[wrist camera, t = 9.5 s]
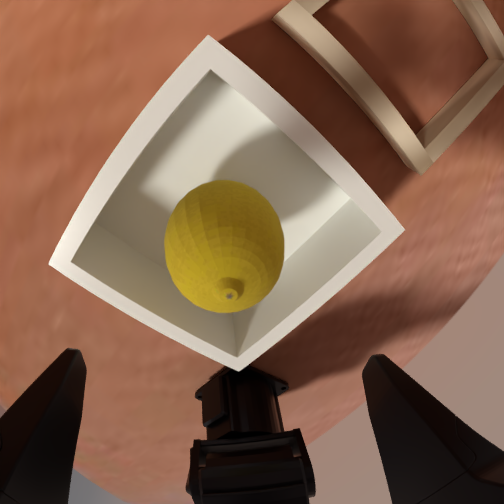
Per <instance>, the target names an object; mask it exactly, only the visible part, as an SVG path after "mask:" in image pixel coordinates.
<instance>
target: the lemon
mask: <svg viewBox="0 0 504 504" xmlns="http://www.w3.org/2000/svg"><path fill="white" fill-rule="evenodd" d="M164 247H165V259H166V264H167V267H168V270H169V273H170V275H171V278H172V281H173V283H174V284H175V286H176V287H177V288H178V290H179V291H180V292H181V294H182V295H183V296H184V297H186V298H187V299H188V300H189V301H191V302H192V303H193V304H194V305H196V306H199V307H201V308H203V309H205V310H209V311H213V312H217V313H232V312H239V311H242V310H245V309H247V308H250V307H252V306H254V305H255V304H257V303H259V302H260V301H262V300H263V299H264V298H265V297H266V296H267V295H268V294H269V293H270V292H271V290H272V289H273V287H274V286H275V284H276V283H277V281H278V279H279V277H280V274H281V270H282V267H283V263H284V233H283V230H282V227H281V223H280V220H279V217H278V215H277V213H276V212H275V210H274V209H273V207H272V206H271V204H270V203H269V201H268V200H267V199H266V198H265V197H264V196H262V195H261V194H260V193H259V192H258V191H257V190H256V189H254V188H252V187H250V186H248V185H246V184H244V183H241V182H236V181H232V180H215V181H211V182H207V183H204V184H201V185H199V186H198V187H196V188H194V189H193V190H191V191H189V192H188V193H187V194H186V195H185V196H184V197H183V198H182V199H181V200H180V201H179V202H178V204H177V205H176V207H175V209H174V210H173V212H172V214H171V216H170V218H169V220H168V224H167V228H166V232H165V238H164Z"/></svg>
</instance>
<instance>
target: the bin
mask: <svg viewBox="0 0 504 504" xmlns="http://www.w3.org/2000/svg"><path fill="white" fill-rule="evenodd" d="M215 180H232V181H236V182H241V183H244V184H246V185H248V186H250V187H252V188H254V189H256V190H257V191H258V192H259V193H260V194H261V195H262V196H264V197H265V198H266V199H267V200H268V201H269V203H270V204H271V206H272V207H273V209H274V210H275V212H276V213H277V215H278V217H279V220H280V223H281V227H282V230H283V233H284V263H283V267H282V270H281V274H280V277H279V279H278V281H277V283H276V284H275V286H274V287H273V289H272V290H271V292H270V293H269V294H268V295H267V296H266V297H265V298H264V299H263V300H262V301H260V302H259V303H257V304H255V305H254V306H252V307H250V308H247V309H245V310H242V311H239V312H232V313H217V312H213V311H209V310H205V309H203V308H201V307H199V306H196V305H194V304H193V303H192V302H191V301H189V300H188V299H187V298H186V297H184V296H183V295H182V294H181V292H180V291H179V290H178V288H177V287H176V286H175V284H174V283H173V281H172V278H171V275H170V273H169V270H168V267H167V264H166V259H165V247H164V238H165V232H166V228H167V224H168V220H169V218H170V216H171V214H172V212H173V210H174V209H175V207H176V205H177V204H178V202H179V201H180V200H181V199H182V198H183V197H184V196H185V195H186V194H187V193H188V192H189V191H191V190H193V189H194V188H196V187H198V186H199V185H201V184H204V183H207V182H211V181H215ZM404 230H405V229H404V228H403V227H402V225H401V224H400V223H399V222H398V220H397V219H396V218H395V217H394V215H393V214H392V213H391V212H390V211H389V209H388V208H387V207H386V206H385V204H384V203H383V202H382V201H381V200H380V199H379V197H378V196H377V195H376V194H375V193H374V191H373V190H372V189H371V188H370V187H369V186H368V185H367V183H366V182H365V181H364V180H363V179H362V178H361V177H360V175H359V174H358V173H357V172H356V171H355V170H354V169H353V168H352V167H351V166H350V164H349V163H348V162H347V161H346V160H345V159H344V158H343V157H342V156H341V155H340V154H339V153H338V152H337V150H336V149H335V148H334V147H333V146H332V145H331V144H330V143H329V142H328V141H327V140H326V139H325V138H324V137H323V136H322V135H321V134H320V133H319V132H318V131H317V130H316V129H315V128H314V127H313V126H312V125H311V124H310V123H309V122H308V121H307V120H306V119H305V118H304V117H303V116H302V115H301V114H300V113H299V112H298V111H297V110H296V109H295V108H294V107H292V106H291V105H290V104H289V103H288V102H287V101H286V100H285V99H284V98H283V97H282V96H281V95H280V94H278V93H277V92H276V91H275V90H274V89H273V88H272V87H271V86H270V85H268V84H267V83H266V82H265V81H264V80H263V79H262V78H261V77H259V76H258V75H257V74H256V73H255V72H254V71H252V70H251V69H250V68H249V67H248V66H247V65H245V64H244V63H243V62H242V61H241V60H239V59H238V58H237V57H236V56H234V55H233V54H232V53H231V52H229V51H228V50H227V49H226V48H224V47H223V46H222V45H221V44H219V43H218V42H217V41H216V40H214V39H213V38H212V37H210V36H209V35H208V36H207V37H206V38H205V39H204V40H203V41H202V42H201V43H200V44H199V45H198V46H197V47H196V48H195V49H194V50H193V51H192V52H191V54H190V55H189V56H188V57H187V58H186V59H185V60H184V61H183V62H182V64H181V65H180V66H179V67H178V68H177V69H176V70H175V72H174V73H173V74H172V75H171V76H170V77H169V79H168V80H167V81H166V82H165V83H164V84H163V86H162V87H161V88H160V89H159V91H158V92H157V93H156V94H155V96H154V97H153V98H152V99H151V101H150V102H149V103H148V104H147V106H146V107H145V108H144V110H143V111H142V112H141V113H140V115H139V116H138V117H137V119H136V120H135V121H134V123H133V124H132V125H131V127H130V128H129V130H128V131H127V132H126V134H125V135H124V137H123V138H122V139H121V141H120V142H119V144H118V145H117V147H116V148H115V149H114V151H113V152H112V154H111V155H110V157H109V158H108V160H107V161H106V163H105V164H104V166H103V167H102V169H101V171H100V172H99V174H98V175H97V177H96V178H95V180H94V182H93V183H92V185H91V187H90V188H89V190H88V191H87V193H86V195H85V196H84V198H83V200H82V202H81V203H80V205H79V207H78V208H77V210H76V212H75V214H74V216H73V217H72V219H71V221H70V223H69V225H68V226H67V228H66V230H65V232H64V234H63V236H62V238H61V240H60V242H59V243H58V245H57V247H56V249H55V251H54V253H53V255H52V257H51V259H50V262H49V265H50V266H52V267H53V268H55V269H56V270H58V271H59V272H61V273H62V274H64V275H65V276H67V277H68V278H70V279H71V280H73V281H74V282H76V283H77V284H79V285H80V286H82V287H84V288H85V289H87V290H88V291H90V292H91V293H93V294H95V295H96V296H98V297H99V298H101V299H103V300H104V301H106V302H108V303H109V304H111V305H113V306H114V307H116V308H118V309H119V310H121V311H123V312H124V313H126V314H128V315H130V316H131V317H133V318H135V319H137V320H138V321H140V322H142V323H144V324H146V325H147V326H149V327H151V328H153V329H155V330H156V331H158V332H160V333H162V334H164V335H166V336H168V337H169V338H171V339H173V340H175V341H177V342H179V343H181V344H183V345H185V346H187V347H189V348H191V349H193V350H195V351H197V352H199V353H201V354H203V355H205V356H207V357H209V358H211V359H213V360H215V361H217V362H219V363H221V364H223V365H225V366H228V367H230V368H232V369H234V370H236V371H238V372H239V371H240V370H242V369H243V368H244V367H246V366H247V365H248V364H250V363H251V362H252V361H254V360H255V359H256V358H258V357H259V356H260V355H261V354H263V353H264V352H265V351H267V350H268V349H269V348H270V347H272V346H273V345H274V344H276V343H277V342H278V341H279V340H281V339H282V338H283V337H284V336H286V335H287V334H288V333H289V332H291V331H292V330H293V329H294V328H295V327H297V326H298V325H299V324H300V323H302V322H303V321H304V320H305V319H306V318H308V317H309V316H310V315H311V314H312V313H314V312H315V311H316V310H317V309H318V308H320V307H321V306H322V305H323V304H324V303H325V302H327V301H328V300H329V299H330V298H331V297H332V296H334V295H335V294H336V293H337V292H338V291H339V290H340V289H342V288H343V287H344V286H345V285H346V284H347V283H348V282H350V281H351V280H352V279H353V278H354V277H355V276H356V275H357V274H358V273H360V272H361V271H362V270H363V269H364V268H365V267H366V266H367V265H368V264H369V263H371V262H372V261H373V260H374V259H375V258H376V257H377V256H378V255H379V254H380V253H381V252H382V251H383V250H385V249H386V248H387V247H388V246H389V245H390V244H391V243H392V242H393V241H394V240H395V239H396V238H397V237H398V236H399V235H400V234H401V233H402V232H403V231H404Z"/></svg>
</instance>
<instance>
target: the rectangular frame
mask: <svg viewBox="0 0 504 504" xmlns="http://www.w3.org/2000/svg"><path fill="white" fill-rule="evenodd" d="M328 1H329V0H292V1H291V2H290V3H289V4H287V5H286V6H285V7H284V8H283V9H282V10H281V11H279V12H278V13H277V14H276V15H275V16H274V17H273V18H272V19H271V20H272V21H273V22H274V23H276V24H277V25H278V26H279V27H280V28H281V29H283V30H284V31H285V32H286V33H287V34H288V35H289V36H290V37H291V38H293V39H294V40H295V41H296V42H297V43H298V44H299V45H300V46H301V47H302V48H303V49H304V50H305V51H306V52H308V53H309V54H310V55H311V56H312V57H313V58H314V59H315V60H316V61H317V62H318V63H319V64H320V65H321V66H322V67H323V68H324V69H325V70H326V71H327V72H328V73H329V74H330V75H331V76H332V78H333V79H334V80H335V81H336V82H337V83H338V84H339V85H340V86H341V87H342V88H343V89H344V90H345V91H346V93H347V94H348V95H349V96H350V97H351V98H352V99H353V100H354V101H355V103H356V104H357V105H358V106H359V107H360V108H361V109H362V111H363V112H364V113H365V114H366V115H367V116H368V118H369V119H370V120H371V121H372V122H373V124H374V125H375V126H376V127H377V129H378V130H379V131H380V132H381V133H382V135H383V136H384V137H385V139H386V140H387V141H388V142H389V144H390V145H391V146H392V147H393V149H394V150H395V151H396V153H397V154H398V155H399V157H400V158H401V159H402V161H403V162H404V163H405V165H406V166H407V167H408V168H410V169H412V170H413V171H415V172H416V173H418V174H419V175H422V174H423V173H424V172H425V171H426V170H427V169H428V168H429V167H430V166H431V165H432V164H433V163H434V162H435V161H436V160H437V159H438V158H439V157H440V156H441V154H442V153H443V152H444V151H445V150H446V149H447V148H448V147H449V146H450V145H451V144H452V143H453V142H454V141H455V139H456V138H457V137H458V136H459V135H460V134H461V133H462V132H463V131H464V130H465V129H466V127H467V126H468V125H469V124H470V123H471V122H472V121H473V120H474V119H475V117H476V116H477V115H478V114H479V113H480V112H481V111H482V109H483V108H484V107H485V106H486V105H487V104H488V103H489V101H490V100H491V99H492V98H493V97H494V96H495V94H496V93H497V92H498V91H499V90H500V89H501V87H502V86H503V85H504V36H503V34H502V32H501V30H500V28H499V26H498V25H497V23H496V21H495V19H494V18H493V16H492V14H491V13H490V11H489V9H488V8H487V6H486V5H485V3H484V1H483V0H452V1H453V2H454V3H455V5H456V6H457V8H458V9H459V11H460V12H461V14H462V15H463V17H464V18H465V20H466V21H467V23H468V24H469V26H470V27H471V29H472V31H473V32H474V34H475V36H476V37H477V39H478V41H479V42H480V44H481V46H482V48H483V49H484V51H485V53H486V55H487V57H488V59H487V60H486V61H485V62H484V64H483V65H482V66H481V67H480V68H479V69H478V70H477V71H476V72H475V73H474V74H473V75H472V77H471V78H470V79H469V80H468V81H467V82H466V83H465V84H464V85H463V86H462V87H461V88H460V89H459V90H458V92H457V93H456V94H455V95H454V96H453V97H452V98H451V99H450V100H449V101H448V102H447V103H446V104H445V105H444V106H443V107H442V108H441V109H440V110H439V112H438V113H437V114H436V115H435V116H434V117H433V118H432V119H431V120H430V121H429V122H428V123H427V124H426V125H425V126H424V127H423V128H422V129H421V130H420V131H419V132H418V133H417V134H416V135H415V134H414V133H413V131H412V130H411V129H410V127H409V126H408V124H407V123H406V122H405V120H404V119H403V118H402V116H401V115H400V114H399V112H398V111H397V110H396V108H395V107H394V106H393V104H392V103H391V102H390V101H389V99H388V98H387V97H386V95H385V94H384V93H383V92H382V90H381V89H380V88H379V87H378V86H377V84H376V83H375V82H374V81H373V80H372V78H371V77H370V76H369V75H368V74H367V73H366V71H365V70H364V69H363V68H362V67H361V66H360V65H359V63H358V62H357V61H356V60H355V59H354V58H353V57H352V56H351V55H350V53H349V52H348V51H347V50H346V49H345V48H344V47H343V46H342V45H341V44H340V43H339V42H338V41H337V40H336V39H335V38H334V37H333V36H332V35H331V34H330V33H329V32H328V31H327V30H326V29H325V28H324V27H323V26H322V25H321V24H320V23H319V22H318V21H317V20H316V19H315V18H314V17H313V16H312V14H313V13H315V12H316V11H317V10H318V9H319V8H321V7H322V6H323V5H324V4H325V3H326V2H328Z"/></svg>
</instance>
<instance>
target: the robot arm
mask: <svg viewBox="0 0 504 504" xmlns="http://www.w3.org/2000/svg"><path fill="white" fill-rule="evenodd" d="M86 373H87V370H86V365H85V362H84V359H83V356H82V353H81V351H80V350H78V349H73V348H67V349H66V350H64V351H63V352H62V353H61V354H60V355H59V357H58V358H57V359H56V360H55V361H54V362H53V363H52V364H51V365H50V366H49V367H48V368H47V369H46V370H45V371H44V372H43V373H42V374H41V375H40V376H39V377H38V378H37V379H36V380H35V381H34V382H33V383H32V384H31V385H30V386H29V387H28V388H27V390H26V391H25V392H24V393H23V394H22V395H21V396H20V397H19V398H18V399H17V400H16V401H15V402H14V403H13V405H12V406H11V407H10V408H9V409H8V410H7V411H6V412H5V413H4V415H3V416H2V417H1V418H0V504H68V498H69V490H70V482H71V475H72V469H73V462H74V456H75V450H76V445H77V439H78V434H79V429H80V424H81V418H82V410H83V400H84V390H85V382H86ZM362 379H363V384H364V389H365V395H366V400H367V406H368V412H369V416H370V420H371V424H372V427H373V431H374V434H375V438H376V442H377V445H378V449H379V453H380V456H381V460H382V464H383V467H384V472H385V475H386V479H387V483H388V487H389V492H390V496H391V500H392V504H504V451H502V450H501V449H499V448H498V447H497V446H495V445H494V444H492V443H491V442H489V441H488V440H486V439H485V438H484V437H482V436H481V435H479V434H478V433H477V432H476V431H474V430H473V429H472V428H470V427H469V426H468V425H467V424H465V423H464V422H463V421H462V420H461V419H459V418H458V417H457V416H455V414H454V413H452V412H451V411H450V410H449V409H448V408H447V407H445V406H444V405H443V404H442V403H441V402H440V401H438V400H437V399H436V398H435V397H434V396H433V395H431V394H430V393H429V392H428V391H426V390H425V389H424V388H423V387H422V386H421V385H420V384H418V383H417V382H416V381H415V380H414V379H413V378H411V377H410V376H409V375H408V374H407V373H405V372H404V371H403V370H402V369H401V368H400V367H398V366H397V365H396V364H395V363H394V362H392V361H391V360H390V359H389V358H388V357H387V356H385V355H384V354H375V355H372V356H371V357H370V358H369V360H368V362H367V364H366V366H365V367H364V369H363V372H362ZM288 388H289V386H288V383H287V382H284V381H282V380H280V379H277V378H275V377H273V376H271V375H269V374H266V373H264V372H262V371H260V370H258V369H256V368H253V367H251V366H249V365H247V366H246V367H244V368H243V369H242V370H240V371H239V372H238V371H236V370H234V369H232V368H230V367H228V368H227V369H226V370H225V371H223V372H222V373H221V374H219V375H218V376H217V377H215V378H214V379H213V380H211V381H210V382H209V383H207V384H206V385H205V386H203V387H202V388H201V389H199V390H198V391H197V392H196V393H195V398H196V399H198V400H201V401H202V418H203V426H204V427H206V429H207V440H200V439H196V440H194V443H193V448H191V449H190V469H189V474H188V478H187V483H186V492H187V493H188V494H190V495H191V496H192V499H193V501H194V504H309V498H310V497H314V496H315V492H316V491H315V479H314V473H313V468H312V464H311V461H310V458H309V455H308V452H307V449H306V446H305V443H304V440H303V437H302V434H301V431H300V428H297V429H293V430H291V431H285V432H284V427H283V422H282V417H281V412H280V407H279V402H278V397H277V396H279V395H280V394H282V393H283V392H285V391H286V390H288Z"/></svg>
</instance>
